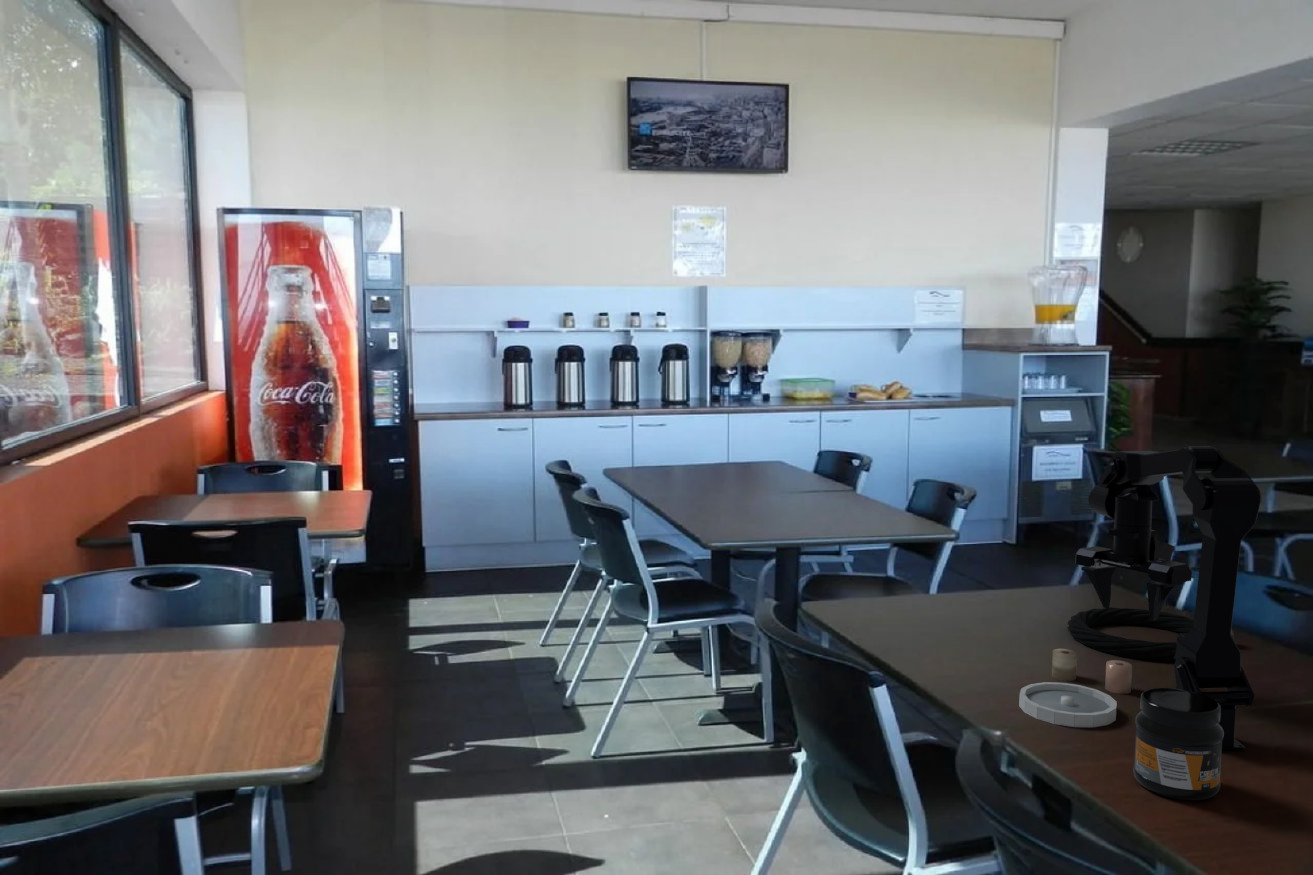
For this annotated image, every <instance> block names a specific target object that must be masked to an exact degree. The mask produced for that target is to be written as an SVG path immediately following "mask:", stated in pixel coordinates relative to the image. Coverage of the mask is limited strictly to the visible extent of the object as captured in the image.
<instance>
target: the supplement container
mask: <svg viewBox="0 0 1313 875" xmlns="http://www.w3.org/2000/svg"><path fill="white" fill-rule="evenodd" d="M1139 708H1140V711H1139V712H1138V713H1137V714H1136V716H1135V720H1134V721H1135V722H1134V724H1135V743H1134V758H1133V760H1134V762H1133V770H1132V772H1133V775H1134V778H1135V779H1136V781H1137V782H1138V783H1139V784H1140V785H1141V786H1143V787H1144V788H1145V789H1147V790H1148V791H1150V792H1153V793H1155V794H1157V795H1160V796H1163V797H1166V798H1171V799H1176V800H1182V801H1201V800H1202V801H1203V800H1207V799H1210V798H1212V797H1214V796H1215V795H1217V794H1218V793H1219V791H1220V789H1221V770H1222V769H1221V767H1222V766H1221V765H1222V740H1223V737H1224V731H1223V729H1222V727H1221V726H1220V724H1219V723H1218V722H1219V721H1220V715H1221V706H1220V705H1219V703H1218V702H1217V701H1215V700H1214V699H1212V698H1210V697H1208V696H1206V695H1203V694H1200V693H1196V692H1193V691H1188V690H1183V689H1177V688H1174V687H1155V688H1150V689H1146V690H1144V691H1143V692H1142V693H1141V695H1140V705H1139Z"/></svg>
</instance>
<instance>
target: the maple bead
mask: <svg viewBox="0 0 1313 875" xmlns="http://www.w3.org/2000/svg"><path fill="white" fill-rule="evenodd" d="M1051 658H1052V661H1051V665H1052V666H1051V677H1052V678H1054V679H1055V680H1059V681H1066V682H1069V681H1070V682H1072V681H1075V680H1076V679H1077V667H1078V666H1077V664H1078V652H1076V651H1075V650H1072V649H1068V648H1056V649H1053V650H1052V657H1051Z"/></svg>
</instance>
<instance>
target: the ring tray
mask: <svg viewBox="0 0 1313 875" xmlns="http://www.w3.org/2000/svg"><path fill="white" fill-rule="evenodd" d="M1018 700H1019V702H1018V706H1019V708H1020V709H1021V710H1022V711H1023V713H1025V714H1027V715H1029V716H1031V717H1032V718H1034V719H1036V720H1039V721H1043V722H1046V723H1050V724H1053V725H1059V726H1063V727H1064V726H1065V727H1069V728H1070V727H1072V728H1097V727H1103V726H1108V725H1109V726H1110V725H1111V724H1113V722H1115V721H1116V720H1117V718H1116V717H1117V706H1118V705H1117V703H1118V701H1116V700H1115V699H1114V698H1113V697H1112V696H1111V695H1109V694H1108V693H1106V692H1103V691H1101V690H1098V689H1096V688H1092V687H1087V686H1085V685H1079V684H1074V683H1066V682H1051V681H1050V682H1049V681H1048V682H1044V681H1043V682H1037V683H1031V684H1028V685H1025V686H1024V687H1021V689H1020V691H1019V699H1018Z"/></svg>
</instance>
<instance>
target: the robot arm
mask: <svg viewBox="0 0 1313 875" xmlns="http://www.w3.org/2000/svg"><path fill="white" fill-rule="evenodd" d="M1106 465H1107V466H1106V467H1105V469H1104V471H1103V473H1102V474H1101V476H1100V477H1099V483H1098V484H1097V485H1096V486H1094V487H1093V488H1092V489H1091V491H1090V493H1089V495H1088V499H1087V501H1088V504H1089V505H1088V506H1089V508H1090V509H1091V510H1092V511H1093V512H1094V513H1095V514H1098V515H1101V516H1105V517H1108V518H1110V519H1113V520H1114V525H1113V528H1108V536H1112V537H1113V548H1107V547H1101V546H1088V547H1081V548H1079V549H1078V550H1077V551H1076V552H1075V563H1074V564H1075V565H1078V566H1081V568H1080V569H1081V570H1082V571H1084V572H1085V574H1086V575H1087V578H1088V579H1089V580H1090V582H1091V584H1092V586H1093V588H1094V590H1095V593H1096V594H1097V597H1098V599H1099V601H1100V603H1101V605H1102V608H1109V607H1111V605H1110V604H1111V598H1112V597H1111V596H1112V578H1113V575H1114V573H1115V571H1116V569H1117V568H1122V569H1126V570H1129V571H1130V570H1131V571H1137V572H1140V573H1144V574H1147V576H1148V577H1149V578H1150V580H1148V581H1146V591H1147V602H1148V610H1149V614H1150V619H1151V620H1157V618H1158V616H1159V613H1160V612H1162V608H1163V607H1164V604H1165V602H1166V600H1167V598H1168V596H1169V595H1170V593H1171V591H1172V590H1173V589H1174V588H1175V587H1176V586H1182V585H1184V583H1188V582H1191V581H1192V577H1193V576H1192V574H1193V573H1192V572H1193V571H1192V568H1191V567H1190V565H1189V564H1188V563H1183V562H1179V561H1175V560H1172V557H1173V553H1174V549H1175V546H1174V545H1172V544H1169V543H1167V542H1166V541H1162V540H1159V539H1158V533H1157V530H1156V529H1155V530H1154V529H1152V517H1153V514H1152V513H1153V502H1156V501H1157V502H1158V501H1159V495H1158V494H1157V493H1156V492H1155V491H1153V490H1152V487H1151V485H1154V484H1157V483H1160V482H1161V481H1163V480H1164V479H1165V477H1167V476H1174V475H1183V482H1182V490H1183V492H1184V494H1185V495H1186V497H1187V498H1188V500H1189V501H1190V502H1191V504H1192V518H1193V519H1194V521H1195V523H1196V525H1197V527H1198V528H1199V530H1200V532H1201V534H1202V539H1201V548H1200V557H1199V558H1200V559H1199V568H1198V569H1199V570H1198V579H1197V587H1196V596H1195V606H1194V615H1193V616H1194V617H1193V620H1194V624H1193V628H1192V629H1191V630H1190V631H1189V633H1178V635H1177V637H1176V642H1177V648H1176V654H1175V656H1174V659H1176V661H1174V665H1173V670H1174V676H1175V683H1176V689H1183V690H1188V691H1193V692H1196V693H1200V694H1203V695H1206V696H1208V697H1210V698H1212V699H1214V700H1215V701H1217V702H1218V703H1219V705H1220V706H1221V715H1220V721H1219V722H1218V723H1219V724H1220V726H1221V727H1222V729H1223V731H1224V737H1223V740H1222V750H1223V751H1226V750H1228V751H1230V750H1232V751H1245V745H1244V744H1242V743H1241V742H1240V741H1238V740H1237V739H1236V738H1235V730H1236V716H1237V707H1251V706H1252V704H1253V701H1254V699H1255V693H1254V691H1253V689H1252V686H1251V684H1250V682H1249V680H1248V678H1247V676H1246V674H1245V671H1244V669H1243V666H1242V652H1241V650H1240V649H1239V647H1238V645H1237V643H1236V641H1235V639H1234V640H1233V638H1232V636H1231V630H1232V627H1233V618H1234V609H1235V600H1236V592H1237V590H1236V589H1237V581H1238V572H1239V566H1240V565H1239V562H1240V554H1241V544H1242V540H1243V539H1244V538H1245V536H1247V535H1248V533H1249V532H1250V531H1251V530H1252V529H1253V527H1254V526H1255V524H1256V523H1257V519H1258V514H1259V512H1260V507H1261V504H1262V503H1261V502H1262V493H1261V490H1260V488H1259V487H1258V486H1257V484H1256V483H1255V481H1254V480H1253V479H1252V478H1251V476H1250V475H1249V474H1248V472H1247V471H1246V470H1245V469H1243V468H1241V467H1240V466H1238V465H1237V464H1235V463H1234V462H1232V461H1230V460H1229V459H1227V457H1224V455H1223V454H1222V452H1221V451H1220V450H1219V449H1218V448H1217V447H1214V446H1212V445H1211V446H1209V445H1207V446H1206V445H1201V446H1200V445H1198V446H1197V445H1191V446H1190V445H1189V446H1188V445H1187V446H1185V447H1182V448H1179V449H1173V450H1165V451H1155V450H1154V451H1153V450H1117V451H1114V453H1112V457H1110V459H1109V461H1108V463H1107V464H1106ZM1197 473H1203V474H1204V473H1210V474H1211V476H1212V477H1204V478H1202V479H1201V478H1200V477H1199V476H1198V475H1197ZM1201 689H1226V691H1225V690H1224V691H1220V690H1219V691H1201Z"/></svg>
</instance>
